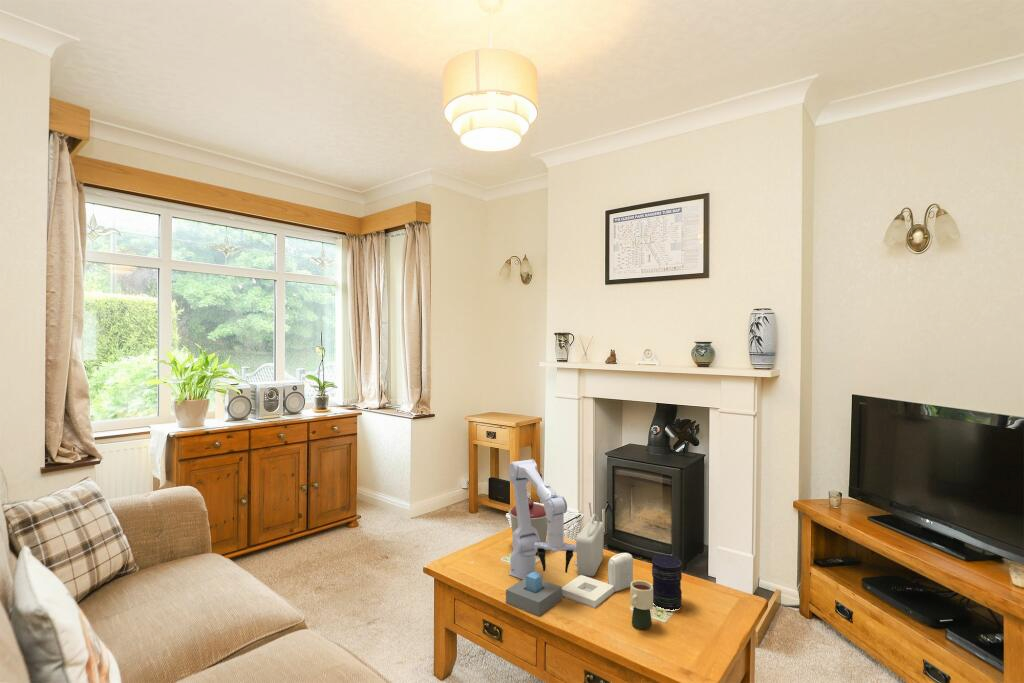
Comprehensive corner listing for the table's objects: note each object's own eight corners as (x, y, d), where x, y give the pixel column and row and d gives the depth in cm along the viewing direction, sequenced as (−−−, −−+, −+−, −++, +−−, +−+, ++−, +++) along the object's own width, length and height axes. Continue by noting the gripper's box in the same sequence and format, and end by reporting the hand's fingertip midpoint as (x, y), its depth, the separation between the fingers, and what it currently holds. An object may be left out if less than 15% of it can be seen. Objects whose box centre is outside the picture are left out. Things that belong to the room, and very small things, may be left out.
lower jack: (560, 595, 185) (560, 588, 185) (580, 581, 196) (580, 574, 196) (594, 608, 177) (594, 601, 176) (614, 592, 187) (614, 585, 187)
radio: (585, 554, 221) (585, 496, 220) (604, 557, 218) (604, 498, 217) (571, 576, 200) (572, 511, 200) (593, 580, 197) (593, 514, 197)
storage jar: (650, 608, 177) (650, 564, 177) (653, 595, 186) (653, 553, 186) (680, 614, 173) (680, 569, 173) (682, 600, 182) (682, 557, 182)
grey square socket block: (505, 602, 180) (505, 589, 180) (529, 587, 191) (529, 575, 191) (538, 616, 172) (538, 602, 171) (561, 599, 182) (561, 586, 182)
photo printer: (626, 581, 196) (626, 549, 196) (634, 586, 192) (634, 552, 192) (606, 588, 190) (606, 555, 190) (614, 593, 187) (614, 559, 187)
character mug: (640, 615, 172) (640, 576, 172) (660, 623, 167) (660, 583, 167) (622, 628, 165) (622, 587, 164) (642, 637, 160) (642, 595, 159)
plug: (526, 598, 181) (526, 575, 181) (533, 593, 185) (533, 571, 185) (535, 602, 179) (535, 579, 178) (543, 597, 182) (543, 574, 182)
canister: (537, 561, 214) (537, 510, 214) (500, 551, 224) (500, 502, 223) (557, 546, 229) (557, 499, 229) (522, 538, 239) (523, 492, 239)
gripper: (533, 535, 179) (533, 574, 179) (576, 537, 177) (575, 577, 177) (535, 527, 186) (535, 565, 186) (576, 530, 184) (576, 568, 184)
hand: (555, 570), depth 182 cm, fingers open, 7 cm apart
